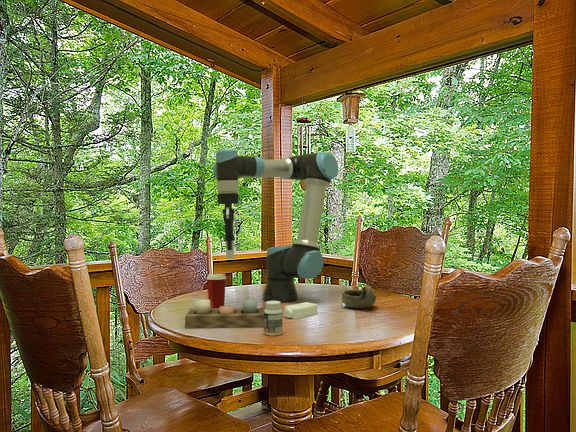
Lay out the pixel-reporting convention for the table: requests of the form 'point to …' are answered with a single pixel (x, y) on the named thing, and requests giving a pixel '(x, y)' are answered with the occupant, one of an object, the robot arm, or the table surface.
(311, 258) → the robot arm
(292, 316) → the cream rectangular block
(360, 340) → the table surface
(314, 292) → the table surface
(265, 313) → the pill bottle
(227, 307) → the button terracotta
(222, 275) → the paper cup
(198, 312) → the button cream
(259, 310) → the console
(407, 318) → the table surface
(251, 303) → the button slate
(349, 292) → the bowl
